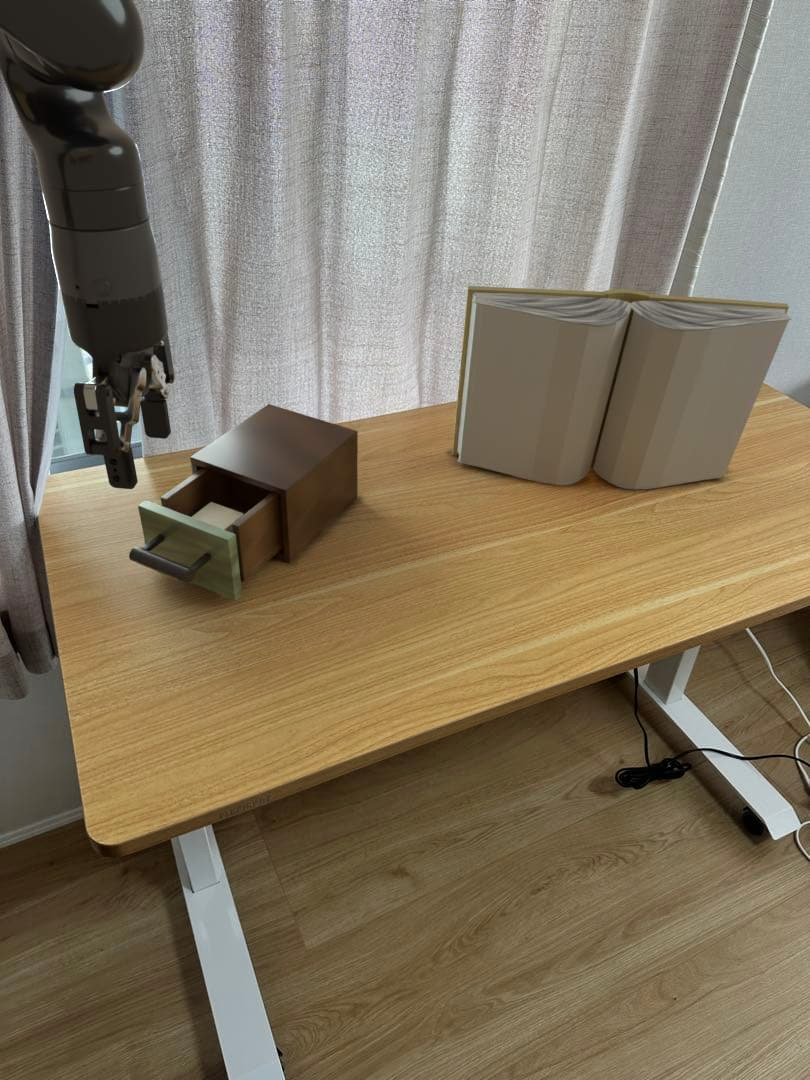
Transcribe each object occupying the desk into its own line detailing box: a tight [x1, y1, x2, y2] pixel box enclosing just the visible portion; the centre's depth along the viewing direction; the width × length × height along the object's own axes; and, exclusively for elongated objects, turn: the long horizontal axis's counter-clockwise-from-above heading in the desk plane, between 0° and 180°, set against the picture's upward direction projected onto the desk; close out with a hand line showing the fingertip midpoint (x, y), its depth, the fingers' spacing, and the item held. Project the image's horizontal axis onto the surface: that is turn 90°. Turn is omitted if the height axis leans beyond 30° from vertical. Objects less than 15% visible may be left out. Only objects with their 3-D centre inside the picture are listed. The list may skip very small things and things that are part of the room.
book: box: [451, 285, 793, 491], centre depth 98 cm, size 36×8×24 cm, turn 87°
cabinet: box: [189, 403, 359, 563], centre depth 94 cm, size 15×13×10 cm
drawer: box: [128, 468, 284, 602], centre depth 85 cm, size 18×11×8 cm, turn 152°
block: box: [192, 502, 244, 533], centre depth 86 cm, size 4×4×4 cm
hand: (142, 460), depth 71 cm, fingers open, 8 cm apart
